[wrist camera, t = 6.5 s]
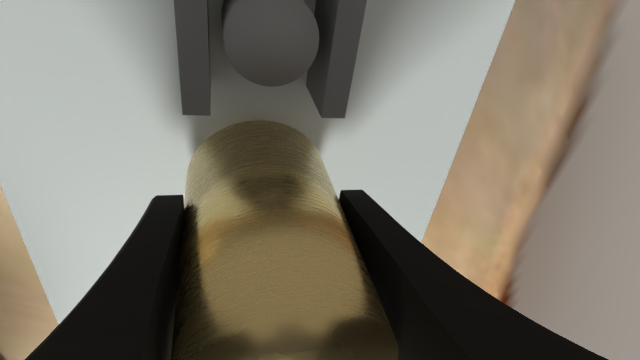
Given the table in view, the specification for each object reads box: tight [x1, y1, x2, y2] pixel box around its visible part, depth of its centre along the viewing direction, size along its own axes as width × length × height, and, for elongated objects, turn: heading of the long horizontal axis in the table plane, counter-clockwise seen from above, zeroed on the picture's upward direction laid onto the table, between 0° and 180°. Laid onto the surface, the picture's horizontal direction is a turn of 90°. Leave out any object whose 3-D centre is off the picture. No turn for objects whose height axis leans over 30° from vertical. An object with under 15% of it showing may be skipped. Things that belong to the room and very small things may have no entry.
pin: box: [171, 120, 399, 360], centre depth 9 cm, size 4×4×6 cm
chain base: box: [0, 0, 515, 325], centre depth 12 cm, size 20×14×3 cm
